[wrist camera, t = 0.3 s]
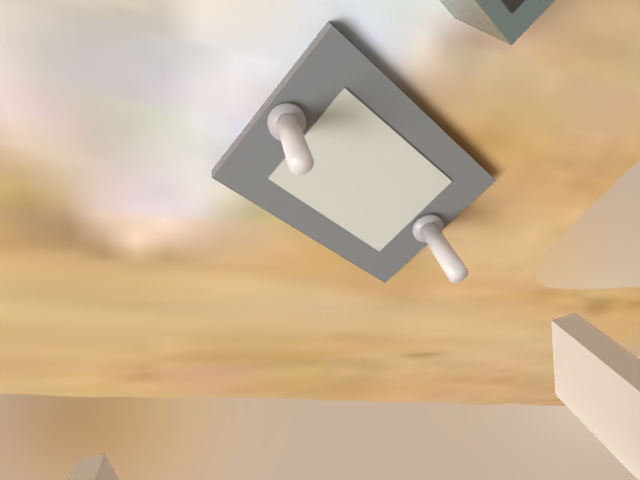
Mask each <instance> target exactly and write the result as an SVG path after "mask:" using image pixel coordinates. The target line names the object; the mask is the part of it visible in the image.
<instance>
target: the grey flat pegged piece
mask: <svg viewBox="0 0 640 480" xmlns="http://www.w3.org/2000/svg"><path fill="white" fill-rule="evenodd" d="M212 178H213V179H215V180H217V181H218V182H220V183H222V184H223V185H225V186H226V187H228V188H230V189H231V190H233V191H235V192H236V193H238V194H240V195H241V196H243V197H245V198H246V199H248V200H249V201H251V202H253V203H254V204H256V205H258V206H259V207H261V208H263V209H264V210H266V211H268V212H269V213H271V214H272V215H274V216H276V217H277V218H279V219H281V220H282V221H284V222H286V223H287V224H289V225H291V226H292V227H294V228H295V229H297V230H299V231H300V232H302V233H304V234H305V235H307V236H309V237H310V238H312V239H314V240H315V241H317V242H319V243H320V244H322V245H323V246H325V247H327V248H328V249H330V250H332V251H333V252H335V253H337V254H338V255H340V256H342V257H343V258H345V259H346V260H348V261H350V262H351V263H353V264H355V265H356V266H358V267H360V268H361V269H363V270H365V271H366V272H368V273H369V274H371V275H373V276H374V277H376V278H378V279H379V280H381V281H383V282H384V283H385V282H387V281H388V280H389V279H390V278H391V277H392V276H393V275H394V274H395V273H396V272H397V271H398V270H399V269H401V268H402V267H403V266H404V265H405V264H406V263H407V262H408V261H409V260H410V259H411V258H412V257H414V256H415V255H416V254H417V253H418V252H419V251H420V250H421V249H422V248H423V247H424V246H425V245H426V244H427V245H428V246H429V248H430V250H431V251H432V253H433V254H434V256H435V257H436V259H437V261H438V262H439V264H440V265H441V267H442V268H443V270H444V272H445V273H446V275H447V276H448V278H449V280H450V281H451V282H455V283H456V282H460V281H462V280H464V279H465V278H466V277H467V275H468V270H467V268H466V267H465V265H464V264H463V262H462V261H461V260H460V258H459V257H458V255H457V254H456V252H455V251H454V250H453V248H452V247H451V245H450V244H449V242H448V241H447V240H446V238H445V237H444V235H443V234H442V230H443V229H444V228H445V227H446V226H447V225H448V224H449V223H450V222H451V221H452V220H453V219H455V218H456V217H457V216H458V215H459V214H460V213H461V212H462V211H463V210H464V209H465V208H466V207H468V206H469V205H470V204H471V203H472V202H473V201H474V200H475V199H476V198H477V197H478V196H479V195H480V194H482V193H483V192H484V191H485V190H486V189H487V188H488V187H489V186H490V185H491V184H492V183H493V182H495V181H496V180H495V179H494V178H493V177H492V176H491V175H490V174H489V173H488V172H487V171H486V170H485V169H483V168H482V167H481V166H480V165H479V164H478V163H477V162H476V161H475V160H474V159H473V158H472V157H471V156H470V155H469V154H468V153H467V152H466V151H465V150H463V149H462V148H461V147H460V146H459V145H458V144H457V143H456V142H455V141H454V140H453V139H452V138H451V137H450V136H449V135H448V134H447V133H446V132H445V131H443V130H442V129H441V128H440V127H439V126H438V125H437V124H436V123H435V122H434V121H433V120H432V119H431V118H430V117H429V116H428V115H427V114H426V113H425V112H423V111H422V110H421V109H420V108H419V107H418V106H417V105H416V104H415V103H414V102H413V101H412V100H411V99H410V98H409V97H408V96H407V95H406V94H405V93H403V92H402V91H401V90H400V89H399V88H398V87H397V86H396V85H395V84H394V83H393V82H392V81H391V80H390V79H389V78H388V77H387V76H386V75H385V74H383V73H382V72H381V71H380V70H379V69H378V68H377V67H376V66H375V65H374V64H373V63H372V62H371V61H370V60H369V59H368V58H367V57H366V56H365V55H363V54H362V53H361V52H360V51H359V50H358V49H357V48H356V47H355V46H354V45H353V44H352V43H351V42H350V41H349V40H348V39H347V38H346V37H345V36H343V35H342V34H341V33H340V32H339V31H338V30H337V29H336V28H335V27H334V26H333V25H332V24H331V23H330V22H329V21H328V23H327V24H326V25H325V27H324V28H323V29H322V30H321V32H320V33H319V34H318V36H317V37H316V38H315V39H314V41H313V42H312V43H311V44H310V46H309V47H308V48H307V50H306V51H305V52H304V53H303V55H302V56H301V57H300V58H299V60H298V61H297V62H296V64H295V65H294V66H293V67H292V69H291V70H290V71H289V73H288V74H287V75H286V76H285V78H284V79H283V80H282V81H281V83H280V84H279V85H278V87H277V88H276V89H275V90H274V92H273V93H272V94H271V95H270V97H269V98H268V99H267V101H266V102H265V103H264V104H263V106H262V107H261V108H260V110H259V111H258V112H257V113H256V115H255V116H254V117H253V118H252V120H251V121H250V122H249V124H248V125H247V126H246V127H245V129H244V130H243V131H242V133H241V134H240V135H239V136H238V138H237V139H236V140H235V141H234V143H233V144H232V145H231V147H230V148H229V149H228V150H227V152H226V153H225V154H224V155H223V157H222V158H221V159H220V161H219V162H218V163H217V164H216V166H215V167H214V168H213V170H212Z"/></svg>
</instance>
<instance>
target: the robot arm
mask: <svg viewBox="0 0 640 480" xmlns="http://www.w3.org/2000/svg"><path fill="white" fill-rule="evenodd" d="M551 323H552V341H553V358H554V376H555V394H556V396H557V397H558V398H559V399H560V400H561V401H562V402H563V403H564V404H565V405H566V406H567V407H568V408H569V409H570V410H571V411H572V412H573V413H574V414H575V415H576V416H577V417H578V418H579V420H580V421H582V423H583V424H584V425H585V426H586V427H587V428H588V429H589V430H590V431H591V432H592V433H593V434H594V435H595V436H596V437H597V438H598V439H599V440H600V441H601V442H602V443H603V444H604V445H605V446H606V447H607V448H608V450H609V451H611V453H612V454H613V455H614V456H615V457H616V458H617V459H618V460H619V461H620V462H621V463H622V464H623V465H624V466H625V467H626V468H627V469H628V470H629V471H630V472H631V473H632V474H633V475H634V476H635V478H637V480H640V359H638V358H637V357H636V356H634V355H633V354H631V353H630V352H629V351H627V350H626V349H625V348H623V347H622V346H620V345H619V344H618V343H616V342H615V341H614V340H612V339H611V338H609V337H608V336H607V335H605V334H604V333H603V332H601V331H600V330H598V329H597V328H596V327H594V326H593V325H592V324H590V323H589V322H587V321H586V320H585V319H583V318H582V317H580V316H579V315H578V314H576V313H575V314H571V315H568V316H564V317H561V318H558V319H554V320H551ZM69 480H119V479H118V477H117V475H116V473H115V472H114V469H113V468H112V466H111V464H110V462H109V460H108V458H107V456H106V455H105V453H101V454H98V455H95V456H91V457H88V458H85V459H81V460H78V461H76V464H75V466H74V468H73V471H72V473H71V475H70V477H69Z"/></svg>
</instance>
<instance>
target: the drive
mask: <svg viewBox="0 0 640 480" xmlns="http://www.w3.org/2000/svg"><path fill="white" fill-rule="evenodd" d="M440 1H441V2H442V4H443V5H444V6H445V7H446V8H447V9H448V11H449V12H450V13H451V14H452V15H453V16H454V17H455V18H456V19H458V20H460V21H462V22H464V23H467V24H469V25H471V26H473V27H475V28H477V29H479V30H481V31H483V32H485V33H487V34H489V35H491V36H493V37H496V38H498V39H500V40H502V41H504V42H506V43H508V44H510V45H512V44H513V43H514V42H515V41H516V40H517V39H518V38H519V37H520V36H521V35H522V34H523V33H524V32H525V31H526V30H527V29H528V28H529V26H530V25H531V24H532V23H533V22H534V21H535V20H536V19H537V18H538V17H539V16H540V15H541V14H542V13H543V12H544V11H545V10H546V9H547V8H548V6H549V5H550V4H551V3H552V2H553V1H554V0H440Z"/></svg>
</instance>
